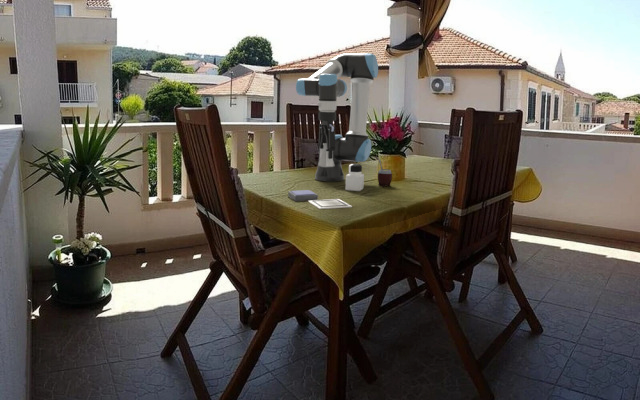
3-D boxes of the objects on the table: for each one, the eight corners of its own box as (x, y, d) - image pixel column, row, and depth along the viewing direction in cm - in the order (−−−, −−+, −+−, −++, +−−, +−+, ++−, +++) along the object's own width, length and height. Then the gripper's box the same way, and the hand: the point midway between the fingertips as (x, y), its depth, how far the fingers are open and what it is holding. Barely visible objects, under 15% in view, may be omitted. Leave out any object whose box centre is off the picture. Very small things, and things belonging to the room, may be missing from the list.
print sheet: (339, 199, 209) (339, 198, 209) (352, 207, 196) (352, 205, 196) (307, 201, 204) (308, 200, 204) (319, 209, 192) (319, 207, 191)
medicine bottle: (363, 188, 235) (364, 163, 232) (359, 191, 228) (360, 165, 226) (349, 187, 237) (350, 162, 235) (345, 190, 231) (346, 164, 228)
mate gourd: (393, 185, 245) (394, 155, 242) (388, 188, 238) (390, 157, 235) (378, 183, 248) (380, 154, 245) (373, 186, 242) (375, 156, 238)
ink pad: (310, 195, 217) (310, 189, 217) (317, 199, 208) (317, 194, 207) (288, 196, 214) (288, 190, 213) (295, 201, 205) (295, 195, 204)
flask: (324, 164, 219) (324, 142, 216) (337, 166, 215) (338, 143, 212) (314, 166, 213) (315, 143, 211) (328, 168, 209) (329, 144, 207)
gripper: (311, 110, 216) (310, 161, 221) (327, 112, 198) (326, 168, 203) (327, 110, 219) (326, 161, 224) (344, 112, 201) (342, 168, 206)
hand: (326, 164), depth 214 cm, fingers closed on flask, 7 cm apart
